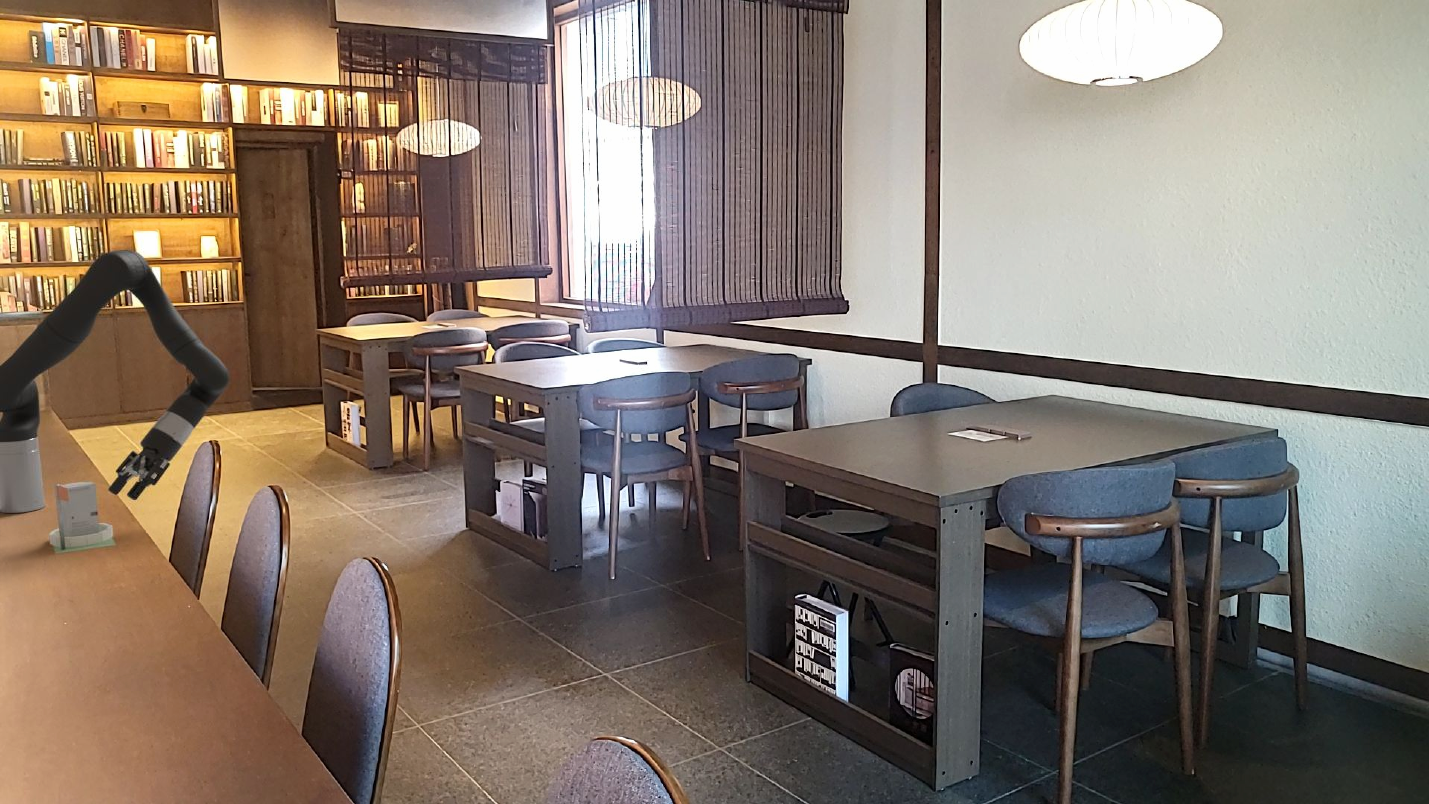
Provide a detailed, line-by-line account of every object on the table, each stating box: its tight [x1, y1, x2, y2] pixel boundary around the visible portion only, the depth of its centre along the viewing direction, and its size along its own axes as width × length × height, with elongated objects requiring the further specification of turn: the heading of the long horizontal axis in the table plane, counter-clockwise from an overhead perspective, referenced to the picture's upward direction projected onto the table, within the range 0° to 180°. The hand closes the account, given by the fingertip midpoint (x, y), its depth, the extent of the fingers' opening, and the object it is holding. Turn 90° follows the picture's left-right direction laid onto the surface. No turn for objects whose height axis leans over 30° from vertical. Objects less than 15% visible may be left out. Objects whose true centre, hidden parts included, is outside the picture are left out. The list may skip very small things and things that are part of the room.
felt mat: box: [52, 537, 116, 554], centre depth 238 cm, size 18×11×1 cm, turn 34°
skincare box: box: [59, 480, 100, 537], centre depth 238 cm, size 6×4×12 cm
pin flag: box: [53, 483, 69, 550], centre depth 228 cm, size 5×1×14 cm, turn 54°
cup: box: [48, 522, 114, 547], centre depth 238 cm, size 12×12×2 cm
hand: (121, 495), depth 244 cm, fingers open, 8 cm apart
